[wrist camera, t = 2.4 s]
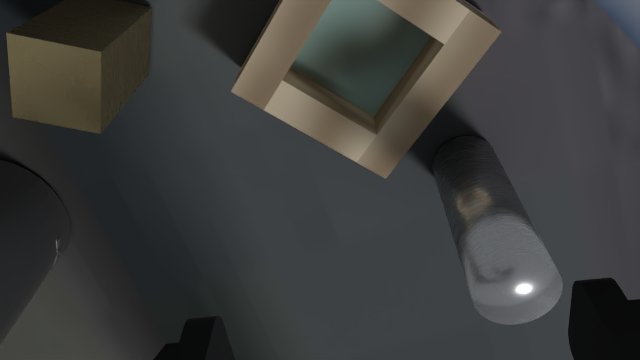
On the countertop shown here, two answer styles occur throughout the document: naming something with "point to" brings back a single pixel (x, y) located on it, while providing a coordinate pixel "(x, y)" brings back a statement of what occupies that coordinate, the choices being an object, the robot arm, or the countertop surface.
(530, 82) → the countertop surface
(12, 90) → the yellow brown rectangular block
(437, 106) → the socket block
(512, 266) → the cylinder
